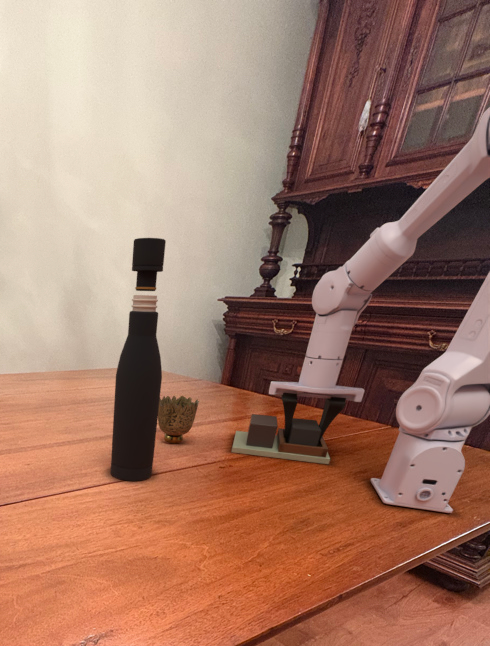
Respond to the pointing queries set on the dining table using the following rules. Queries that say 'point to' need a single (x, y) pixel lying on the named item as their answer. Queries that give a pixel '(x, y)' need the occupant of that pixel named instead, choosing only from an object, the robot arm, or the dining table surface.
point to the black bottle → (139, 372)
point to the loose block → (304, 432)
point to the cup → (176, 417)
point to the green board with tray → (275, 442)
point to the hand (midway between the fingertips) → (301, 438)
